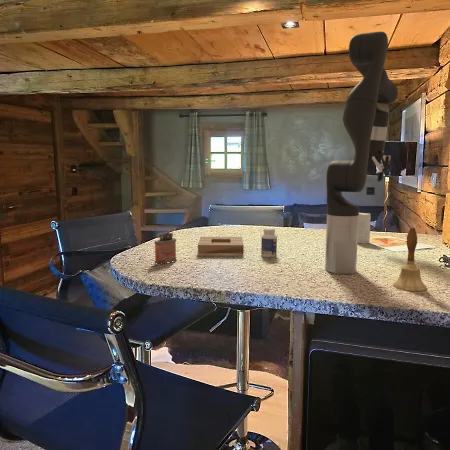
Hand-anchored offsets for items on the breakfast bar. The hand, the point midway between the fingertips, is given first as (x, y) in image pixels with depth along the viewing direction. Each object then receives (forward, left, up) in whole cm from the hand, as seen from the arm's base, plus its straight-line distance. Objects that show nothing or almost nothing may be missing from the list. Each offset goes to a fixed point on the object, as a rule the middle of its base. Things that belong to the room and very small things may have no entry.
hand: (369, 179), depth 170 cm
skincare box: (+1, +2, -26) cm, 26 cm away
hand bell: (-61, +8, -26) cm, 67 cm away
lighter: (-34, +77, -26) cm, 88 cm away
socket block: (-17, +59, -26) cm, 66 cm away
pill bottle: (-24, +42, -26) cm, 55 cm away
